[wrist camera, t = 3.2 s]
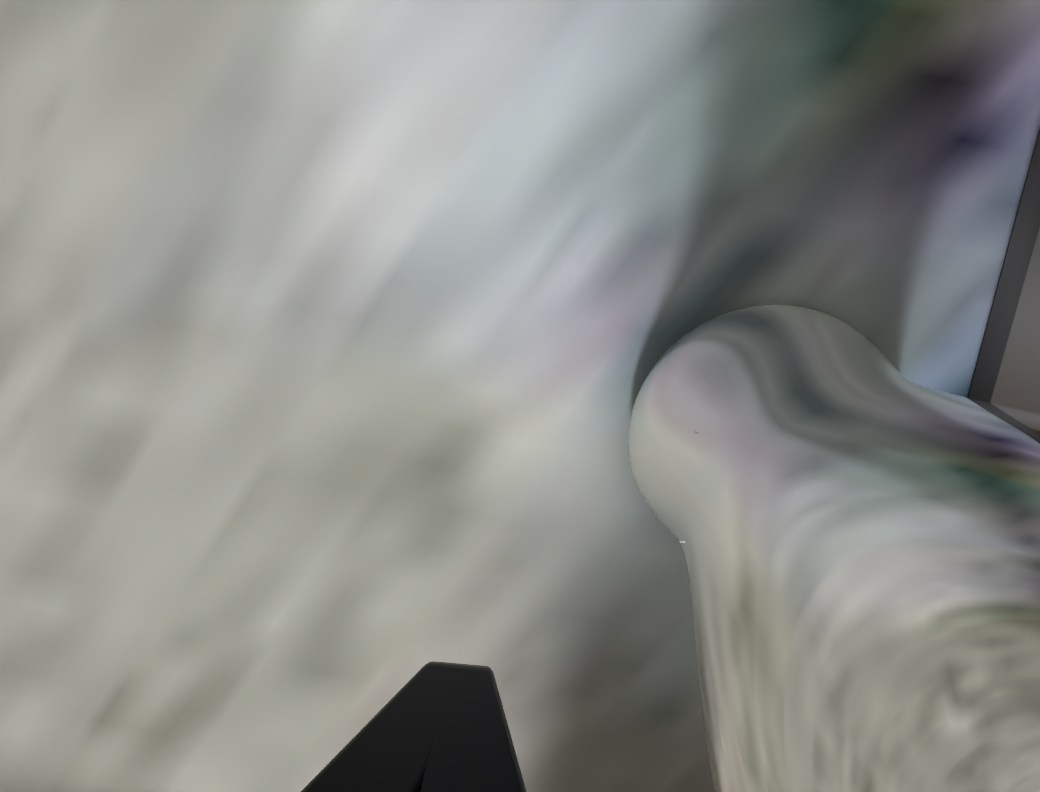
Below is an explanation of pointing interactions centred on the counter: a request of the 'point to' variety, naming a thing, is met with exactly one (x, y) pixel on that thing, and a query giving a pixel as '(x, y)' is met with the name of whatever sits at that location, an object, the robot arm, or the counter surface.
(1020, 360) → the wooden tray
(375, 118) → the counter surface
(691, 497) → the beer glass
